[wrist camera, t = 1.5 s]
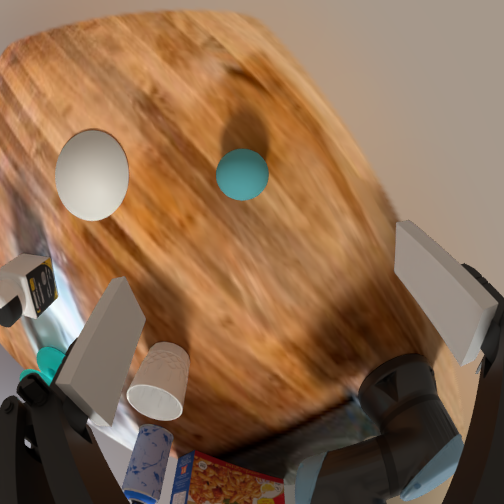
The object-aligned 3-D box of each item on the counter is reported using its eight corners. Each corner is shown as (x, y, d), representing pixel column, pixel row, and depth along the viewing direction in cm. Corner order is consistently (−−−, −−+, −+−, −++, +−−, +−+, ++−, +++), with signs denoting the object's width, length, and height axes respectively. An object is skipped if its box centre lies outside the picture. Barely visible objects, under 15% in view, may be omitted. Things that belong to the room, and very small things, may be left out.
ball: (268, 149, 31) (271, 150, 26) (266, 196, 33) (268, 206, 28) (219, 147, 31) (213, 148, 26) (218, 194, 33) (212, 204, 28)
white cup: (150, 330, 40) (129, 376, 31) (199, 348, 41) (188, 398, 32) (143, 364, 43) (124, 408, 34) (187, 380, 44) (176, 426, 35)
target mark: (128, 125, 30) (128, 125, 30) (131, 220, 34) (131, 220, 34) (54, 137, 30) (53, 137, 30) (60, 220, 34) (59, 221, 34)
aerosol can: (161, 445, 53) (145, 515, 35) (133, 429, 51) (110, 501, 33) (180, 437, 51) (165, 515, 33) (150, 420, 49) (127, 500, 31)
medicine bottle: (59, 297, 39) (18, 338, 28) (30, 290, 39) (-10, 326, 27) (51, 256, 36) (3, 292, 25) (22, 252, 36) (-24, 284, 25)
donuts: (18, 393, 36) (16, 366, 33) (40, 363, 45) (42, 335, 42) (58, 421, 38) (61, 400, 35) (77, 388, 47) (83, 363, 44)
